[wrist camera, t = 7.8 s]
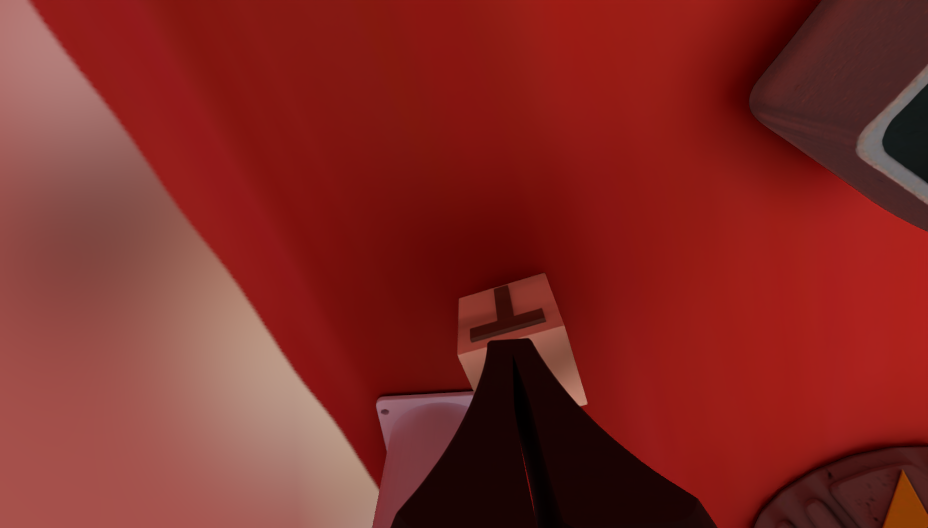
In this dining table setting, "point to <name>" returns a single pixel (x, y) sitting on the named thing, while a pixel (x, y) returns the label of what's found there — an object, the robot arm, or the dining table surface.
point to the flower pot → (857, 98)
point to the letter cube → (517, 329)
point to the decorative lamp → (856, 493)
